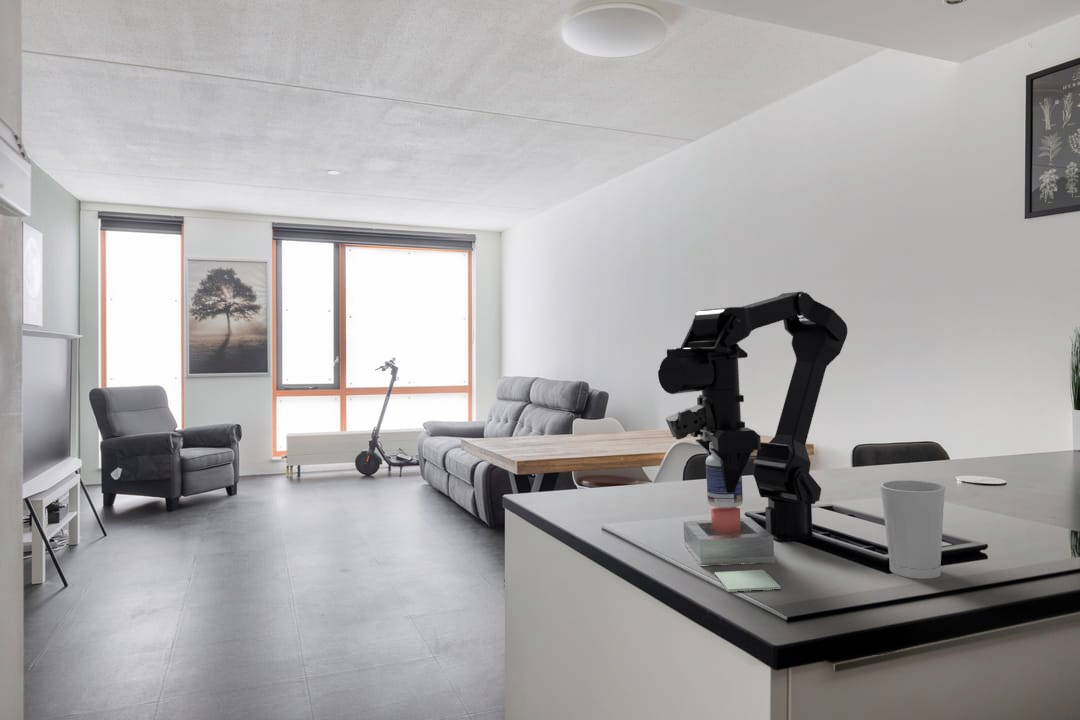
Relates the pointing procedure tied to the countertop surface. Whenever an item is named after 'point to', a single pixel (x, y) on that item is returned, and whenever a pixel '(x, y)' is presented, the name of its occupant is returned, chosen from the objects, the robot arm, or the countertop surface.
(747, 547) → the frame
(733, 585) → the pad
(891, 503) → the cup
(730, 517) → the plunger
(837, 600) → the countertop surface
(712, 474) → the pill bottle
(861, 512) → the countertop surface
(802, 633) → the countertop surface
